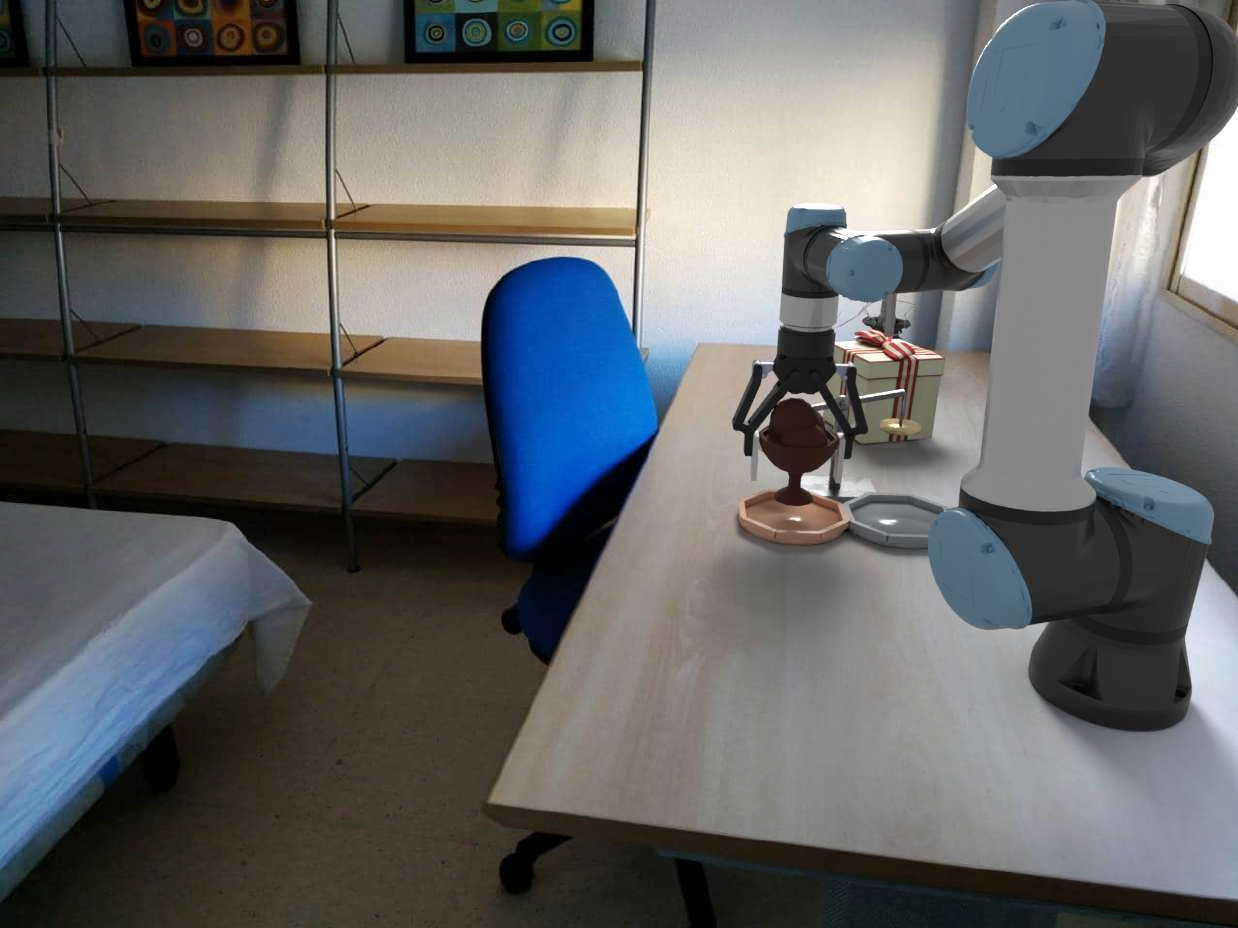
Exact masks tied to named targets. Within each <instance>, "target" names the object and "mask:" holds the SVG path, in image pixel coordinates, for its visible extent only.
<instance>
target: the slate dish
mask: <svg viewBox="0 0 1238 928" xmlns="http://www.w3.org/2000/svg"><path fill="white" fill-rule="evenodd" d="M843 506H844V508H845V511H846V514H847V516H848V519H849V527H848V528H847V530H849V532H850V533H852V534H854V535H855V536H857V537H859V538H860V539H863V540H864V541H868V542H870V543H873V544H877V545H880V546H884V547H889V548H890V547H891V548H896V549H905V550H920V549H928V535H929V530H930V527H931V524H932V522H933V521H934V520H935V519H937V516H938V515H939V514H940V513H941V512H943V511H945V510H946V509H950V508H949V507H948V506H947V505H944V504H942V503H938V502H935V501H933V500H929V499H926V498H925V497H924V498H923V497H921V496H918V495H915V494H912V493H901V492H900V493H897V492H895V493H894V492H877V493H866V494H863V495H861V496H859V497H856V498H854V499H852V500H849V501H847V502H845V503H843Z"/></svg>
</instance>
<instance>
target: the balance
mask: <svg viewBox="0 0 1238 928" xmlns="http://www.w3.org/2000/svg"><path fill="white" fill-rule="evenodd" d="M859 397H860V401H861V404H862V403H868V402H874V401H879V400H885V399H891V398H897V397H902V401H901V409H900V418H899V419H897V418H892V419H885V420H882V421H880V424H879V428H880V429H881V430H882V431H884V432H886V433H890V434H894V435H903V436H908V435H916V434H919V433H920V432H921V425H920V424H919V423H917V422H914V421H911V420H906V419H903V414H904V406H905V397H906V392H905V391H904V389H900V390H894V391H888V392H883V393H877V394H871V395H865V396H859ZM835 400H836V402H837V403H838V405H839V407H840V408H841V410H842V412H843V413H844V415H845V417H846V419H847V415H848V409H849V407H850V405H851V404H850V400H849V397H847V396H846V395H840V396H838V397H836V399H835ZM811 406H812V407H813V408H814V409H815V410H816V411H818V412H819V411H824V410H827V409H829V407H828V406H827V404H826V402H825V401H824V402H818V403H814V404H811ZM832 431H833V432H834V433H835V434H836V435H837V433H843V431H842V429H841V427H840V426H839V424H838V422H837V421H836V419H835V421H834V426H833V430H832ZM758 451H759V452H761V453H764V452H763V451H762V448H761V446H760V443H759V450H758ZM835 451H836V450H835ZM834 462H835V452H834V454H833V455H832V457H831V458H830V464H829V475H828V476H827V475H825V476H824V475H823V476H822V475H802V477H801V487H802V488H803V489H805V490H807V491H811V492H813V493H816V494H819V495H821V496H824V497H827V498H830V499H832V500H835V501H838V502H840V503H842V504H843V503H845V502H847V501H849V500H852V499H854V498H856V497H859V496H861V495H863V494H866V493H878V492H877V490H876V488H875V486H874V484H873V482H872V480H871V478H870V477H865V476H863V477H861V476H860V477H859V476H842V482H841V483H836V482H835V480H834V477H833V472H834Z"/></svg>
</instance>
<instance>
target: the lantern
mask: <svg viewBox="0 0 1238 928" xmlns="http://www.w3.org/2000/svg"><path fill="white" fill-rule="evenodd" d="M896 231H899V230H898V229H896ZM897 295H898V294H890V295H888V296H887V297H885V298H883V299H881V300H880V301H879V302H881V304H880V305H881V306H880V308H879V309H878V310H879V311H880V313H879V314H878V316H872V315H870V313H869V312H868V311H867V308H868V307H870V306H871V304H874V303H875V302H872V303H866V302H863V307H862V309H861V310H860V311H859V313H858V314H856V315H855V316H853V317H852V318H851V319H848V320H847V321H845V322H843V323H841V324H838V326H833V327H834V328H835V329H836V328H840V327H843V326H844V325H845V324H846V323H849V322H850V321H853V320H854V319H855V318H856V317H858V316H859V315H861V313H864V314H866V315H867V316H866V317H864V318H862V320H861V322H862V323H863V325H865V326H866V327H870V328H871V330H878V331H881V332H882V333H884V334H885V337H893V338H892V339H901V340H903V341H905V342H907V341H906V340H905V339H903V338H902V337H901V336H899V335H902V334H903V329H908V328H910V327H911V326H912V323H911V321H910V320H909V319H910V317H912V315H913V314H914V311H915V309H914V306H915V303H914V302H913V300H911V299H910V298H909V297H908V296H906V295H905V294H903V293H899V295H900V296H903V297H905V298H907V300H909V301H910V302H911V303H910V302H909V301H906V300H905V301H903V300H897ZM852 301H853V300H849V302H847V304H846V305H845V306H844V307H843V308H842V309H841V311H840V312H839V313H838V314H837V319H838V318H839V317H840V316H841V314H842V312H843V311H844V309H845V308H846V307H847V306H848V305H849V304H850V303H851V302H852ZM897 302H901V303H907V304H910V305H912V306H911V307H910V308H909V309H908V311H911V308H913V309H912V312H911V314H910V315H909V316H908V317H907V316H906V315H907V313H904V317H905V319H902V318H898V317H897V316H896V309H897V308H896V307H897ZM857 337H859V336H856V335H854V337H853V340H855V341H859V340H860V339H858V338H857Z"/></svg>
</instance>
